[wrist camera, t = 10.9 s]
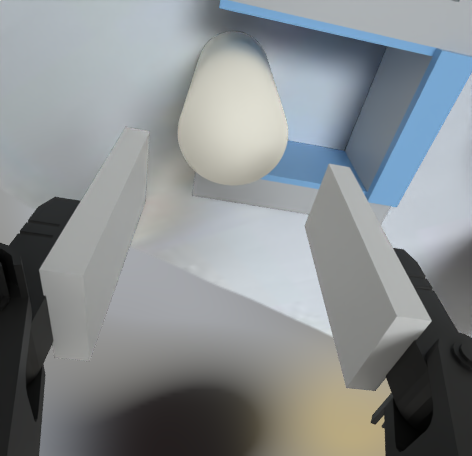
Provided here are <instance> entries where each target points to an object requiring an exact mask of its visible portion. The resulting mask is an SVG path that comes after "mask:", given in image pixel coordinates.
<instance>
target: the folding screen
mask: <svg viewBox="0 0 472 456" xmlns="http://www.w3.org/2000/svg"><path fill="white" fill-rule="evenodd" d="M219 8H221V9H225V10H229V11H234V12H238V13H243V14H247V15H252V16H256V17H260V18H265V19H269V20H274V21H278V22H283V23H287V24H291V25H296V26H300V27H305V28H309V29H314V30H318V31H322V32H327V33H331V34H336V35H340V36H344V37H349V38H353V39H358V40H362V41H367V42H371V43H375V44H380V45H384V46H387V48H386V51H385V53H384V56H383V58H382V60H381V63H380V65H379V68H378V70H377V73H376V75H375V78H374V80H373V83H372V85H371V87H370V90H369V92H368V95H367V97H366V100H365V102H364V105H363V107H362V110H361V112H360V114H359V117H358V119H357V122H356V124H355V127H354V129H353V132H352V134H351V137H350V139H349V141H348V144H347V146H346V149H345V151H342V150H337V149H331V148H326V147H321V146H315V145H310V144H305V143H299V142H294V141H287V146H286V149H285V152H284V154H283V156H282V158H281V160H280V161H279V163H278V164H277V165H276V167H275V168H274V169H273V170H272V171H271V172H269V173H268V174H267V175H265V176H264V177H262V178H261V179H259V180H257V181H254V182H251V183H248V184H244V185H233V186H230V185H222V184H218V183H215V182H212V181H209V180H207V179H205V178H204V177H202V176H200V175H199V174H198V173H197V172H195V177H194V184H193V191H192V196H198V197H204V198H210V199H216V200H222V201H229V202H235V203H241V204H247V205H253V206H259V207H266V208H272V209H278V210H284V211H290V212H297V213H303V214H310V211H311V208H312V206H313V203H314V201H315V198H316V195H317V193H318V190H319V188H320V185H321V183H322V180H323V177H324V175H325V172H326V170H327V167H328V165H329V164H334V165H340V166H345V167H350V169H351V171H352V172H353V174H354V176H355V178H356V180H357V182H358V184H359V186H360V187H361V189H362V191H363V193H364V195H365V197H366V199H367V201H368V202H369V204H370V206H371V208H372V210H373V212H374V214H375V216H376V217H377V219H378V221H379V223H380V225H381V224H382V222H383V220H384V219H385V217H386V215H387V213H388V211H389V209H390V208H391V206H393V207H397V206H398V204H399V202H400V200H401V199H402V197H403V195H404V193H405V191H406V190H407V188H408V186H409V184H410V182H411V181H412V179H413V177H414V175H415V173H416V172H417V170H418V168H419V166H420V164H421V163H422V161H423V159H424V157H425V155H426V154H427V152H428V150H429V148H430V146H431V145H432V143H433V141H434V139H435V137H436V136H437V134H438V132H439V130H440V128H441V127H442V125H443V123H444V121H445V119H446V118H447V116H448V114H449V112H450V110H451V109H452V107H453V105H454V103H455V101H456V100H457V98H458V96H459V94H460V92H461V91H462V89H463V87H464V85H465V83H466V82H467V80H468V78H469V76H470V74H471V73H472V0H220V6H219Z"/></svg>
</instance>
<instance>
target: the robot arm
mask: <svg viewBox="0 0 472 456" xmlns="http://www.w3.org/2000/svg"><path fill="white" fill-rule="evenodd" d="M149 134H150V131H146V130H141V129H135V128H129V127H125V129H124V131H123V132H122V134H121V135H120V137H119V139H118V140H117V142H116V144H115V145H114V147H113V149H112V150H111V152H110V154H109V155H108V157H107V159H106V160H105V162H104V163H103V165H102V167H101V168H100V170H99V172H98V173H97V175H96V177H95V178H94V180H93V182H92V183H91V185H90V187H89V188H88V190H87V192H86V193H85V195H84V196H83V198H82V200H81V201H78V200H72V199H65V198H59V197H54V198H52V199H51V200H49V201H47V202H46V203H44V204H42V205H41V206H39V207H38V208H37V209H36V210H35V212H34V213H33V215H32V216H31V217H30V219H29V220H28V223H26V224H25V225H24V226H23V228H22V229H21V230H20V234H17V236H16V237H15V238H14V240H13V241H12V242H11V243H10V245H9V246H8V245H5V244H2V243H0V456H39V448H40V436H41V424H42V411H43V398H44V385H45V371H44V365H43V363H44V361H45V358H46V356H47V354H48V352H49V350H50V347H51V345H52V346H53V352H54V357H55V358H62V359H72V360H81V361H90V359H91V357H92V354H93V351H94V348H95V345H96V342H97V339H98V336H99V333H100V331H101V328H102V325H103V322H104V319H105V316H106V313H107V311H108V307H109V305H110V302H111V299H112V296H113V293H114V291H115V287H116V285H117V282H118V279H119V276H120V273H121V270H122V268H123V265H124V262H125V259H126V256H127V253H128V250H129V247H130V245H131V242H132V239H133V236H134V233H135V230H136V227H137V224H138V222H139V219H140V216H141V213H142V210H143V207H144V204H145V202H146V187H147V169H148V152H149ZM305 229H306V233H307V237H308V241H309V245H310V249H311V253H312V257H313V260H314V264H315V268H316V272H317V276H318V280H319V284H320V288H321V291H322V295H323V299H324V303H325V307H326V311H327V315H328V319H329V323H330V326H331V330H332V334H333V338H334V342H335V346H336V350H337V353H338V357H339V361H340V365H341V369H342V373H343V377H344V381H345V385H346V388H352V389H363V390H372V391H376V389H377V388H378V387H379V386H380V384H381V383H382V382H383V381H384V380H385V378H387V381H388V384H389V386H390V389H391V392H392V393H391V394H390V395H389V397H388V398H387V399H386V400H385V401H384V402H383V404H382V405H381V406H380V407H379V408H378V409H377V410H376V412H375V413H374V414H373V415H372V420H371V423H372V424H376V423H377V422H378V421H379V420H380V419H381V418H382V417H383V415H384V416H385V417H384V419H385V422H384V423H383V425H382V428H385V451H386V456H472V338H471V337H469V336H467V335H465V334H462V333H458V331H457V329H456V328H455V326H454V324H453V322H452V321H451V319H450V317H449V316H448V314H447V312H446V311H445V309H444V307H443V305H442V304H441V302H440V300H439V299H438V297H437V295H436V294H435V292H434V291H432V287H431V285H430V283H429V282H428V280H427V279H425V275H424V273H423V271H422V270H421V268H420V266H419V265H418V263H417V262H416V261H415V260H414V259H413V258H412V257H411V256H410V255H409V254H408V253H407V252H406V251H405V250H403V249H397V248H393V247H392V245H391V244H390V242H389V240H388V238H387V236H386V234H385V232H384V230H383V229H382V227H381V225H380V223H379V221H378V219H377V217H376V216H375V214H374V212H373V210H372V208H371V206H370V204H369V202H368V201H367V199H366V197H365V195H364V193H363V191H362V189H361V187H360V186H359V184H358V182H357V180H356V178H355V176H354V174H353V172H352V171H351V169H350V167H345V166H340V165H334V164H329V165H328V167H327V170H326V172H325V175H324V177H323V180H322V183H321V185H320V188H319V190H318V193H317V195H316V198H315V201H314V203H313V206H312V208H311V211H310V214H309V216H308V219H307V221H306V224H305Z"/></svg>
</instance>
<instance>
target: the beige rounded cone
mask: <svg viewBox="0 0 472 456" xmlns="http://www.w3.org/2000/svg"><path fill="white" fill-rule="evenodd" d="M177 135H178V143H179V147H180V150H181V152H182V155H183V157H184V158H185V160H186V162H187V163H188V164H189V166H190V167H191V168H192V169H193V170H194V171H195V172H197V173H198V174H199V175H200V176H202V177H204V178H205V179H207V180H209V181H212V182H215V183H218V184H222V185H230V186H233V185H244V184H248V183H251V182H254V181H257V180H259V179H261V178H262V177H264V176H265V175H267V174H268V173H269V172H271V171H272V170H273V169H274V168H275V167H276V165H277V164H278V163H279V161H280V160H281V158H282V156H283V154H284V152H285V149H286V146H287V141H288V125H287V120H286V117H285V114H284V111H283V107H282V104H281V101H280V98H279V94H278V91H277V88H276V85H275V82H274V78H273V75H272V72H271V69H270V65H269V62H268V59H267V56H266V53H265V51H264V49H263V48H262V46H261V45H260V44H259V43H258V41H256V40H255V39H254V38H253V37H251V36H250V35H247V34H245V33H242V32H237V31H229V32H224V33H221V34H219V35H216V36H215V37H213V38H212V39H211V40H210V41H209V42H208V43H207V44H206V45H205V46H204V48H203V49H202V52H201V54H200V56H199V60H198V63H197V66H196V69H195V72H194V75H193V78H192V81H191V85H190V88H189V91H188V94H187V97H186V100H185V103H184V106H183V110H182V113H181V116H180V119H179V123H178V134H177Z"/></svg>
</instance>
